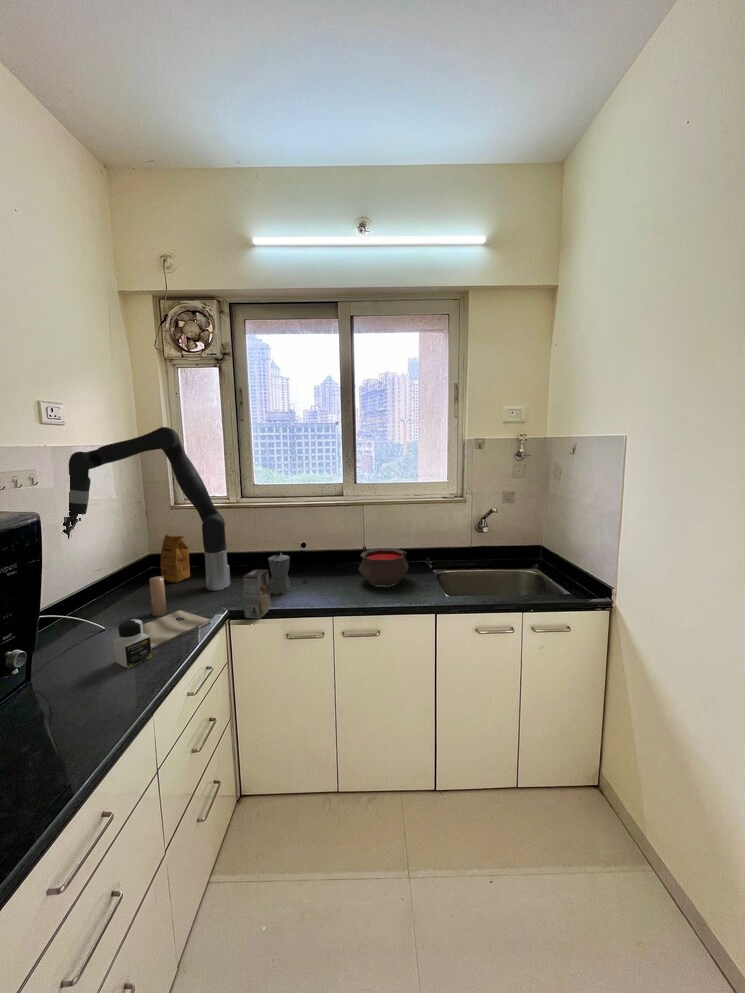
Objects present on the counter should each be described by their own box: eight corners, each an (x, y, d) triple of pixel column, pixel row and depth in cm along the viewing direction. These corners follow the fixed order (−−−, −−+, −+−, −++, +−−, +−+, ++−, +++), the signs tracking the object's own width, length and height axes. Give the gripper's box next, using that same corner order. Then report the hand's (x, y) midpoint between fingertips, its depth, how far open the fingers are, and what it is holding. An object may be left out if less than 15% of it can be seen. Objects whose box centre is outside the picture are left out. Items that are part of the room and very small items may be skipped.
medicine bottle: (127, 669, 113) (123, 629, 111) (115, 662, 116) (111, 624, 115) (152, 657, 119) (148, 620, 117) (139, 651, 122) (136, 615, 121)
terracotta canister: (161, 610, 154) (158, 575, 153) (169, 612, 152) (166, 577, 150) (149, 614, 150) (146, 579, 149) (157, 617, 148) (154, 581, 146)
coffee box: (256, 608, 155) (254, 568, 153) (271, 609, 153) (269, 569, 151) (244, 618, 146) (241, 576, 144) (260, 619, 145) (257, 577, 143)
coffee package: (176, 574, 198) (172, 532, 195) (193, 577, 193) (190, 533, 190) (158, 580, 189) (154, 536, 187) (175, 584, 184) (172, 538, 181)
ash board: (180, 613, 151) (180, 610, 151) (211, 622, 142) (211, 619, 142) (120, 637, 132) (120, 633, 132) (151, 650, 123) (151, 646, 123)
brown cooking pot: (418, 579, 186) (418, 545, 184) (393, 595, 166) (393, 557, 164) (375, 571, 199) (375, 539, 197) (347, 585, 179) (347, 550, 177)
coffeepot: (290, 595, 167) (288, 554, 165) (267, 597, 166) (265, 555, 164) (292, 583, 183) (291, 545, 180) (271, 584, 181) (270, 546, 179)
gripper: (79, 503, 151) (72, 545, 151) (94, 501, 164) (88, 540, 164) (56, 500, 149) (49, 543, 149) (73, 499, 162) (67, 537, 162)
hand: (69, 541), depth 156 cm, fingers open, 8 cm apart
